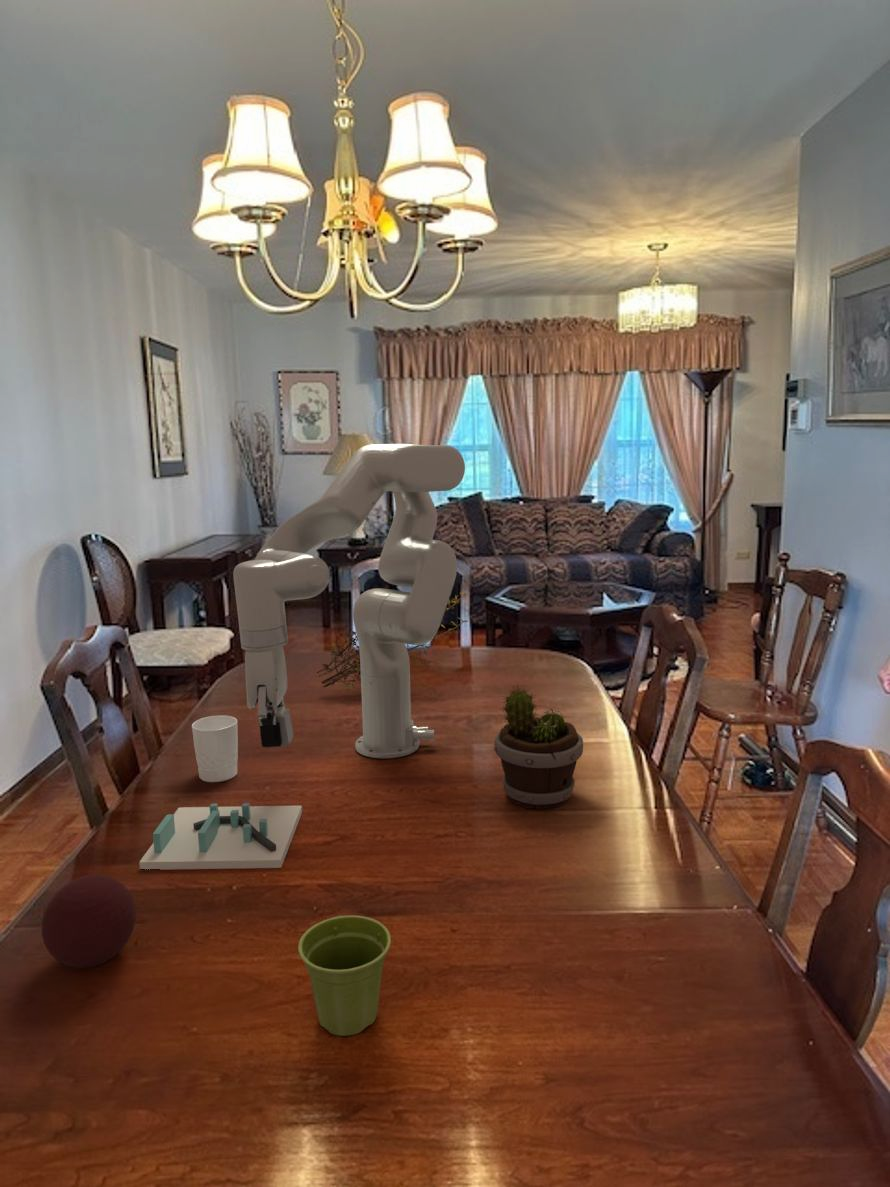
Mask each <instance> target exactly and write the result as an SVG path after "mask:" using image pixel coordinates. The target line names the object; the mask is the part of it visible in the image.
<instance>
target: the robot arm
mask: <svg viewBox="0 0 890 1187" xmlns="http://www.w3.org/2000/svg"><path fill="white" fill-rule="evenodd" d="M464 460H465V459H464V457H463V455H462V454H461V452H460V451H459V450H458V449H457V448H456V447H454V446H451V445H448V444H444V445H443V444H440V445H438V444H432V445H431V444H412V443H411V444H410V443H373V444H371V443H370V444H366V445H363V446H361V447H359V448H358V449H357V450H356V451H355V452H354V453H353V455H352V456H351V457H350V458H349V460H348V461H347V463H346V464H345V465H344V467H343V468H342V469H341V471H340V472H339V473H338V475H337V476H336V477H335V478H334V480H333V481H332V483H330V485H329V486H328V488H327V489H326V491H325V492H324V493H323V494H322V495H321V497H320V498H319V499H318V500H315V501H314V502H313V503H311V504H309V505H308V506H306V507H304V508H303V509H302V510H300V511H299V512H297V513H296V514H294V515H292V517H290V518H288V519H287V520H285V521H284V522H283V523H282V524H281V525H280V526H279V527H278V528H276V529H275V531H274V532H273V533H272V534H271V535H270V536H269V537H268V539H267V540H266V542H264V544H263V545H262V546H261V548H260V549H259V551H258V553H257V555H256V556H255V557H254V559H253V560H252V559H251V560H247V561H242V562H241V563H238V564H237V565H235V567H234V569H233V575H232V577H233V584H234V593H235V603H236V611H237V618H238V628H239V629H238V630H239V631H238V632H239V638H240V647H241V649H242V650H245V655H244V656H245V657H244V671H245V672H244V673H245V690H246V703H247V708H248V709H249V710H254V709H255V707H256V706H257V718H258V723H259V724H258V725H259V733H260V740H261V746H262V748H265V747H269V748H277V747H282V746H281V744H282V741H281V731H280V723H277V707H284V706H285V700H284V696H285V695H286V693H287V690H288V674H287V673H288V672H287V665H286V658H285V649H284V646H286V645H287V644H289V638H288V637H289V636H288V627H287V617H286V607H285V603H286V602H287V601H295V600H306V599H312V598H315V597H317V596H319V595H320V594H322V592H324V590H325V589H326V588H327V586H328V585H329V583H330V582H329V581H330V577H331V576H330V569H329V566H328V565H327V563H326V561H324V560H323V559H322V558H321V557H319V556H317V555H314V554H312V553H308V552H309V551H310V550H312V549H313V548H315V547H317V546H318V545H321V544H323V543H326V542H329V541H332V540H335V539H338V538H341V537H343V536H347V535H348V534H352V533H353V532H355V531H357V530H358V529H359V528H360V527H361V526H362V525H363V523H364V522H365V520H366V519H367V518H368V516H369V515H370V513H371V512H372V510H373V509H374V507H375V506H376V505H377V504H378V502H379V500H380V499H381V498H382V497H383V495H384V494H385V493H387V492H392V494H393V497H394V502H395V512H394V516H393V519H392V523H391V525H390V528H389V531H388V534H387V537H386V539H385V542H384V545H383V548H382V550H381V553H380V557H379V560H378V566H377V567H378V569H377V570H378V573H379V576H380V578H381V579H382V580H383V581H384V582H386V583H388V584H391V585H394V586H398V587H405V588H411V592H407V591H402V590H398V589H397V590H396V589H389V588H383V587H382V588H372V589H368V590H366V591H363V593H361V594H360V595H359V596H358V597H357V599H356V601H355V602H354V606H353V609H352V619H353V624H354V628H355V632H356V633H355V634H356V636H357V638H358V640H357V642H358V646H359V648H358V650H359V652H360V654H359V657H360V661H359V662H360V667H361V669H360V670H361V674H360V679H361V680H360V681H361V683H360V686H361V687H360V689H361V716H362V720H361V721H362V735H361V736H360V737H359V738H357V739H356V741H355V746H354V747H355V751H356V752H357V753H359V754H360V755H361V756H365V757H368V758H372V759H395V758H401V757H405V756H408V755H411V754H413V753H414V752H416V751H417V750H418V749H419V747H420V740H426V741H428V740H429V741H433V740H435V730H434V729H429V726H420V727H419V726H418V727H417V725H414V719H412V714H411V713H412V711H411V710H412V708H411V707H412V706H411V704H412V703H411V702H412V701H411V700H412V699H411V683H410V682H411V673H410V671H411V666H410V665H411V664H410V657H409V656H410V655H409V651H407V650H408V647H407V644H408V645H409V646H410V645H412V646H418V645H424V646H425V644H429V642H431V641H432V640H434V639H433V638H434V637H436V634H437V632H438V630H439V628H440V626H441V624H442V621H443V617H444V615H445V612H446V611H445V610H446V608H447V603H448V600H450V598H451V595H452V593H451V592H452V591H453V588H454V585H455V580H456V577H457V573H458V572H457V571H458V562H457V556H456V553H455V551H454V549H453V548H452V547H451V546H450V545H449V544H448V543H447V542H444V541H442V540H438V539H434V535H435V532H436V528H437V524H438V513H437V508H436V506H435V503H434V501H433V499H432V497H431V495H430V493H431V492H446V491H447V492H449V491H451V490H454V489H455V488H457V487H458V486H459V485H460V484H461V482H462V481H463V479H464V476H465V472H466V465H465V461H464ZM450 594H451V595H450ZM357 638H356V639H357ZM405 644H406V646H405ZM267 710H272V715H271V713H268V711H267Z"/></svg>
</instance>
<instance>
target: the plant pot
mask: <svg viewBox="0 0 890 1187" xmlns="http://www.w3.org/2000/svg"><path fill="white" fill-rule="evenodd" d="M391 938H392V936H391V933H390V932H389V930H388V928H387V927H386V926H385V925H384V924H382V923H381V922H380V921H378V920H377V919H374V918H371V917H367V916H362V915H339V916H334V917H330V918H327V919H324V920H321V921H320V922H318V923H316V924H314V925H312V926H311V927H310V928H309V929H307V930H306V931H305V932H304V933H303V934H302V936H301V937H300V938H299V939H300V940H299V942H298V947H297V948H298V954H299V957H300V959H301V961H302V962H303V963H304V966H305V968H306V971H308V975H309V979H310V984H311V989H312V994H313V998H314V1003H315V1009H316V1014H317V1018H318V1023H319V1024H320V1027H323V1028H324V1029H326V1030H327V1031H328V1032H329V1033H330V1034H331V1035H335V1036H342V1037H343V1036H346V1037H347V1036H354V1035H357V1034H359V1033H361V1032H363V1031H364V1030H365V1029H366V1028H367V1027H368V1026H370V1025H373V1023H374V1022H375V1021H376V1018H377V1017H378V1010H379V1009H378V1008H379V1002H380V1001H379V1000H380V991H381V983H382V982H381V981H382V976H383V975H382V974H383V966H384V963H385V960H386V957H387V953H388V952H389V951H390V948H391V941H392V939H391Z"/></svg>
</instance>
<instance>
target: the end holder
mask: <svg viewBox="0 0 890 1187" xmlns="http://www.w3.org/2000/svg"><path fill="white" fill-rule="evenodd" d="M174 814H175V813H174ZM174 814H173V813H172V814H170V813H169V814H166V815H165V817H164V818H163V819H162V821H160V823H159V825H158V826H157V827H156V828H155V830H154V832H153V833H152V841H153V843H154V853H162V851H163V850H164V848H165V847H166V846H167V844H168V843H169V841H170V840H171V838H172V837H173V835H174V834H175V823H174ZM217 833H218V825H217V814H210V815H209V816H208V818H207V819H206V821H205V823H204V824H203V826H202V827H201V829H200V831H199V832H198V841H199V852H207V850H208V849H209V847H210V845H211V843H212V842H213V840H214V838H215V836H216V835H217Z"/></svg>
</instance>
